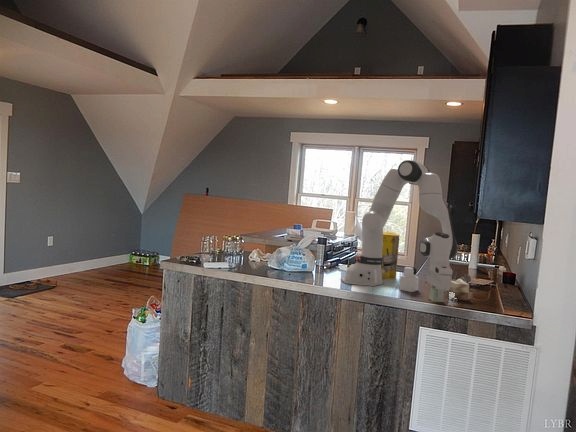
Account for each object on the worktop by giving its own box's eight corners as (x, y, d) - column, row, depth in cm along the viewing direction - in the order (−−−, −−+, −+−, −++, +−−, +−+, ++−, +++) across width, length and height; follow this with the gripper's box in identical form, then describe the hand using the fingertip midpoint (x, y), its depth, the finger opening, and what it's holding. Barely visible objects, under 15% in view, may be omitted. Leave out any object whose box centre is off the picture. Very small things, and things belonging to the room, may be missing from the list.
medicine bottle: (405, 287, 247) (407, 265, 246) (418, 290, 243) (420, 267, 242) (399, 289, 242) (401, 266, 241) (412, 292, 237) (414, 269, 236)
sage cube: (432, 301, 221) (433, 291, 221) (428, 298, 226) (429, 288, 226) (443, 302, 222) (444, 291, 221) (439, 299, 227) (439, 289, 226)
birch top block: (454, 291, 228) (455, 283, 228) (449, 288, 235) (449, 280, 235) (468, 292, 228) (469, 284, 228) (463, 289, 235) (463, 281, 235)
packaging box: (395, 279, 268) (399, 235, 266) (367, 277, 269) (370, 233, 267) (390, 273, 285) (393, 232, 283) (363, 271, 285) (366, 230, 283)
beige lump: (453, 300, 228) (454, 291, 228) (447, 296, 235) (448, 288, 235) (467, 300, 229) (468, 292, 228) (461, 297, 236) (462, 289, 235)
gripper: (424, 262, 233) (422, 290, 234) (440, 271, 212) (438, 301, 214) (437, 263, 233) (434, 291, 234) (454, 271, 213) (451, 301, 214)
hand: (436, 296), depth 224 cm, fingers closed on sage cube, 5 cm apart
